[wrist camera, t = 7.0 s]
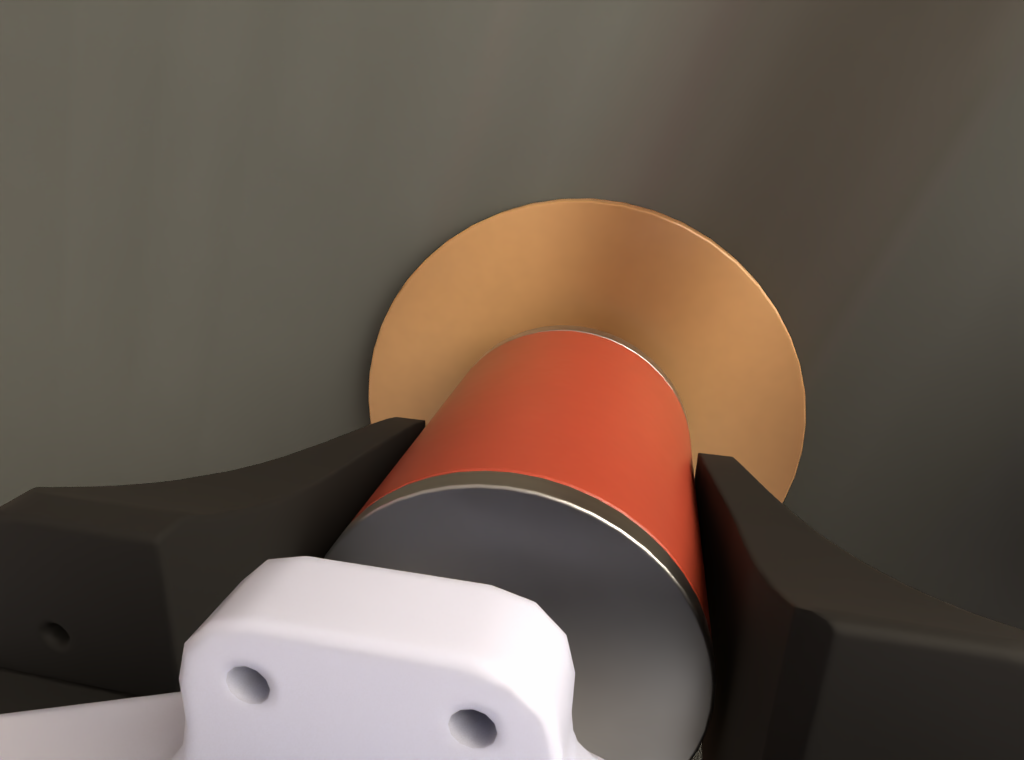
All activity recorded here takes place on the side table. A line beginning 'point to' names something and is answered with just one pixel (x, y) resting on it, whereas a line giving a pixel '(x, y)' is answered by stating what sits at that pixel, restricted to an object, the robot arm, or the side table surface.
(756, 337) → the cork coaster
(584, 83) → the side table surface
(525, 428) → the tin can
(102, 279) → the side table surface
